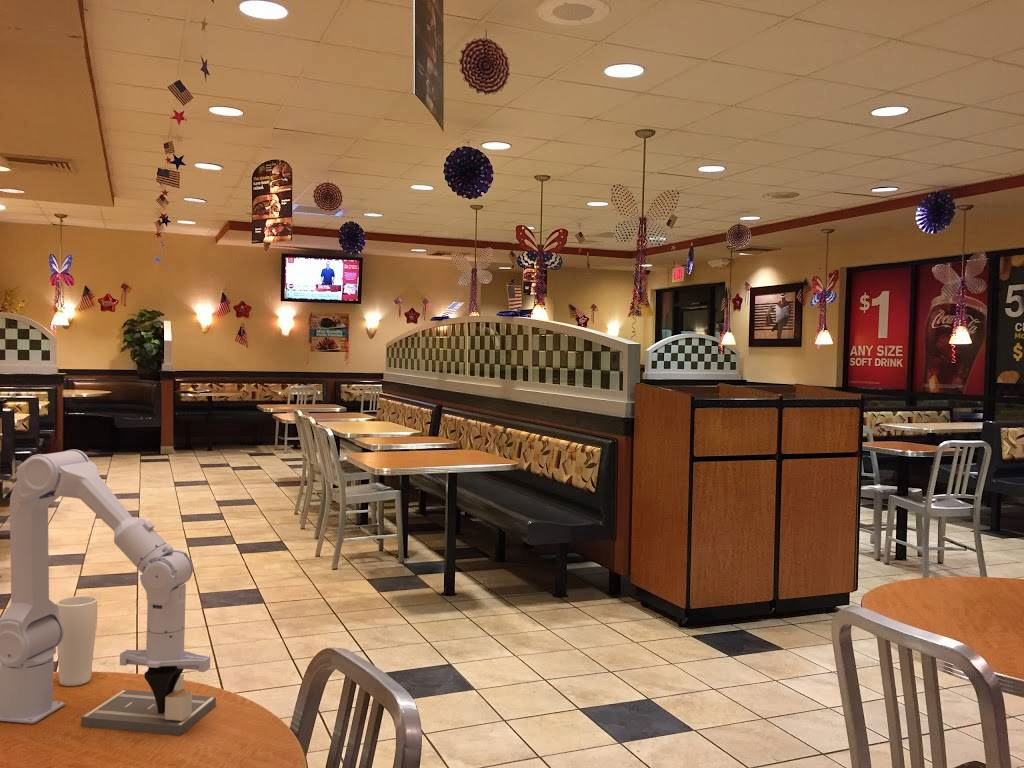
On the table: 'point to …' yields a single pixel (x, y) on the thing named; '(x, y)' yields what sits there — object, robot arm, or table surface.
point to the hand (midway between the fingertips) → (163, 711)
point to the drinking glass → (77, 639)
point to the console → (143, 713)
